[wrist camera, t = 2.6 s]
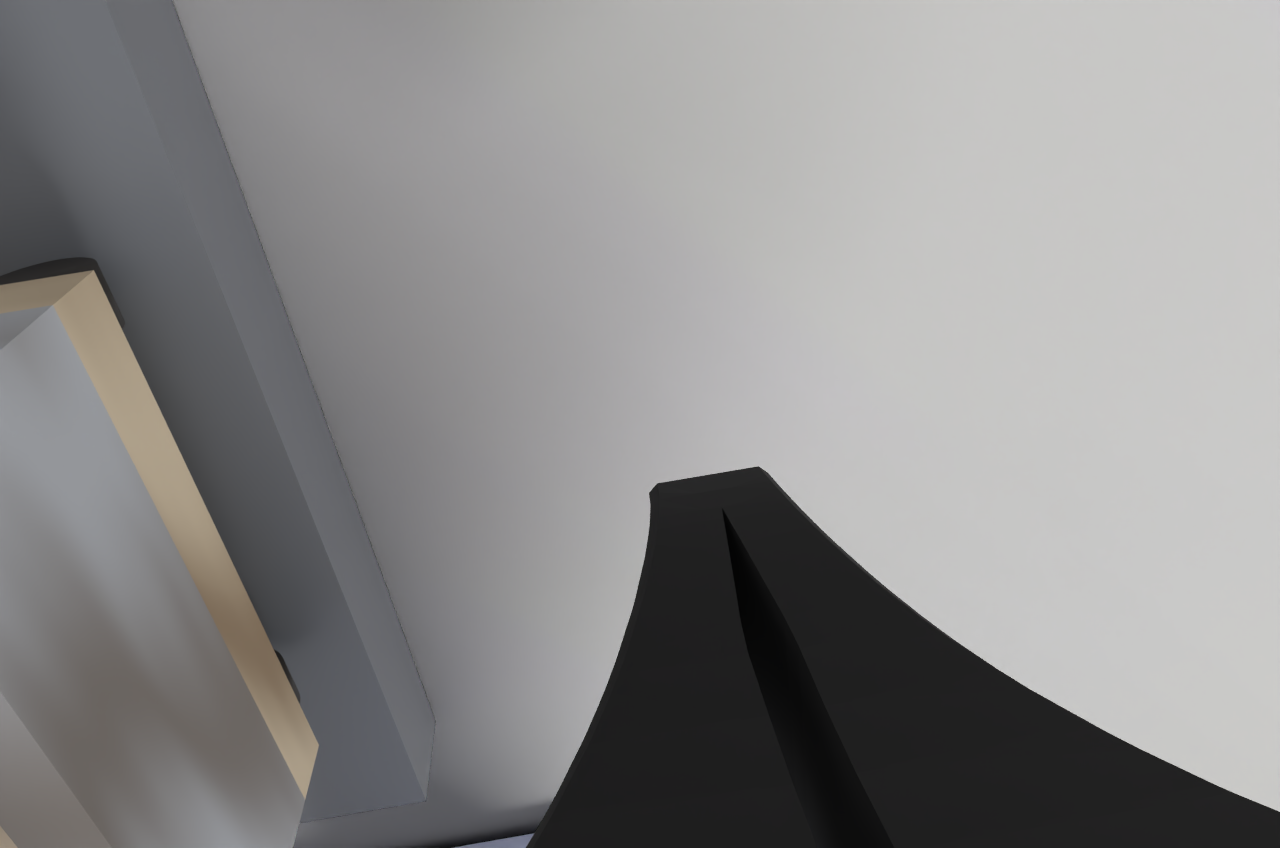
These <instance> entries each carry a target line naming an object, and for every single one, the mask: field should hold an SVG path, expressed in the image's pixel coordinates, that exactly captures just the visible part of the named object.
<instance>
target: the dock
mask: <svg viewBox="0 0 1280 848" xmlns="http://www.w3.org/2000/svg"><path fill="white" fill-rule="evenodd" d="M75 257H86V258H92V259H95V260H96V261H97V263H98V265H99V267H100V269H101V271H102V274H103V276H104V278H105V280H106V282H107V284H108V286H109V288H110V291H111V293H112V295H113V297H114V299H115V301H116V303H117V305H118V308H119V310H120V312H121V314H122V316H123V318H124V320H125V325H124V327H123V329H122V331H123V333H124V335H125V337H126V339H127V341H128V343H129V345H130V347H131V350H132V352H133V354H134V356H135V358H136V360H137V362H138V364H139V366H140V369H141V371H142V373H143V375H144V377H145V379H146V381H147V383H148V385H149V388H150V390H151V392H152V394H153V396H154V398H155V400H156V402H157V404H158V407H159V409H160V411H161V413H162V415H163V417H164V419H165V421H166V423H167V426H168V428H169V430H170V432H171V434H172V436H173V438H174V440H175V442H176V445H177V447H178V449H179V451H180V453H181V455H182V457H183V459H184V461H185V463H186V466H187V468H188V470H189V472H190V474H191V476H192V478H193V480H194V482H195V485H196V487H197V489H198V491H199V493H200V495H201V497H202V499H203V501H204V504H205V506H206V508H207V510H208V512H209V514H210V516H211V518H212V520H213V523H214V525H215V527H216V529H217V531H218V533H219V535H220V537H221V539H222V542H223V544H224V546H225V548H226V550H227V552H228V554H229V556H230V558H231V561H232V563H233V565H234V567H235V569H236V571H237V573H238V575H239V577H240V580H241V582H242V584H243V586H244V588H245V590H246V592H247V594H248V596H249V599H250V601H251V603H252V605H253V607H254V609H255V611H256V613H257V615H258V618H259V620H260V622H261V624H262V626H263V628H264V630H265V632H266V634H267V637H268V639H269V641H270V643H271V645H272V647H273V649H275V650H276V651H278V652H279V653H280V654H281V655H282V657H283V659H284V661H285V663H286V665H287V667H288V670H289V672H290V674H291V676H292V678H293V680H294V682H295V684H296V687H297V689H298V691H299V693H300V706H301V708H302V710H303V712H304V715H305V717H306V719H307V721H308V723H309V725H310V727H311V729H312V731H313V734H314V736H315V738H316V740H317V742H318V744H319V747H318V751H317V755H316V759H315V763H314V767H313V771H312V775H311V779H310V783H309V787H308V791H307V795H306V799H305V803H304V807H303V810H302V814H301V818H300V822H299V823H304V822H310V821H316V820H321V819H327V818H333V817H339V816H344V815H350V814H356V813H361V812H367V811H373V810H379V809H384V808H390V807H396V806H402V805H407V804H413V803H419V802H424V801H426V799H427V791H428V782H429V774H430V765H431V757H432V748H433V740H434V731H435V723H436V721H435V718H434V716H433V713H432V710H431V707H430V705H429V702H428V699H427V696H426V694H425V691H424V688H423V685H422V683H421V680H420V677H419V675H418V672H417V669H416V666H415V664H414V661H413V658H412V655H411V653H410V650H409V647H408V644H407V642H406V639H405V636H404V634H403V631H402V628H401V625H400V623H399V620H398V617H397V614H396V612H395V609H394V606H393V603H392V601H391V598H390V595H389V592H388V590H387V587H386V584H385V582H384V579H383V576H382V573H381V571H380V568H379V565H378V562H377V560H376V557H375V554H374V551H373V549H372V546H371V543H370V541H369V538H368V535H367V532H366V530H365V527H364V524H363V521H362V519H361V516H360V513H359V510H358V508H357V505H356V502H355V500H354V497H353V494H352V491H351V489H350V486H349V483H348V480H347V478H346V475H345V472H344V469H343V467H342V464H341V461H340V459H339V456H338V453H337V450H336V448H335V445H334V442H333V439H332V437H331V434H330V431H329V428H328V426H327V423H326V420H325V418H324V415H323V412H322V409H321V407H320V404H319V401H318V398H317V396H316V393H315V390H314V387H313V385H312V382H311V379H310V377H309V374H308V371H307V368H306V366H305V363H304V360H303V357H302V355H301V352H300V349H299V346H298V344H297V341H296V338H295V336H294V333H293V330H292V327H291V325H290V322H289V319H288V316H287V314H286V311H285V308H284V305H283V303H282V300H281V297H280V295H279V292H278V289H277V286H276V284H275V281H274V278H273V275H272V273H271V270H270V267H269V264H268V262H267V259H266V256H265V254H264V251H263V248H262V245H261V243H260V240H259V237H258V234H257V232H256V229H255V226H254V223H253V221H252V218H251V215H250V213H249V210H248V207H247V204H246V202H245V199H244V196H243V193H242V191H241V188H240V185H239V182H238V180H237V177H236V174H235V172H234V169H233V166H232V163H231V161H230V158H229V155H228V152H227V150H226V147H225V144H224V141H223V139H222V136H221V133H220V131H219V128H218V125H217V122H216V120H215V117H214V114H213V111H212V109H211V106H210V103H209V100H208V98H207V95H206V92H205V90H204V87H203V84H202V81H201V79H200V76H199V73H198V70H197V68H196V65H195V62H194V59H193V57H192V54H191V51H190V49H189V46H188V43H187V40H186V38H185V35H184V32H183V29H182V27H181V24H180V21H179V18H178V16H177V13H176V10H175V8H174V5H173V2H172V0H0V276H2V275H4V274H7V273H10V272H13V271H16V270H19V269H22V268H25V267H28V266H32V265H36V264H40V263H44V262H48V261H53V260H59V259H65V258H75Z"/></svg>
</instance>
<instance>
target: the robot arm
mask: <svg viewBox="0 0 1280 848" xmlns="http://www.w3.org/2000/svg"><path fill="white" fill-rule="evenodd" d="M649 496H650V504H651V510H650V527H649V536H648V542H647V548H646V554H645V560H644V564H643V568H642V573H641V577H640V581H639V585H638V590H637V594H636V598H635V602H634V606H633V609H632V613H631V616H630V619H629V622H628V625H627V628H626V631H625V635H624V638H623V641H622V644H621V647H620V650H619V653H618V656H617V659H616V662H615V665H614V668H613V670H612V673H611V676H610V678H609V681H608V684H607V686H606V689H605V691H604V694H603V696H602V699H601V701H600V704H599V706H598V708H597V710H596V713H595V715H594V717H593V720H592V722H591V724H590V727H589V729H588V731H587V733H586V736H585V738H584V740H583V742H582V744H581V746H580V748H579V750H578V752H577V754H576V756H575V758H574V760H573V762H572V764H571V766H570V768H569V770H568V772H567V774H566V776H565V778H564V780H563V782H562V784H561V786H560V788H559V790H558V792H557V794H556V796H555V798H554V800H553V801H552V803H551V805H550V807H549V809H548V811H547V812H546V814H545V816H544V818H543V820H542V821H541V823H540V825H539V827H538V828H537V830H536V832H535V833H533V834H527V835H521V836H515V837H510V838H504V839H498V840H493V841H487V842H481V843H476V844H470V845H464V846H459V847H453V848H1280V812H1279V811H1276V810H1274V809H1271V808H1269V807H1266V806H1264V805H1261V804H1259V803H1257V802H1254V801H1252V800H1249V799H1247V798H1244V797H1242V796H1239V795H1237V794H1235V793H1232V792H1230V791H1228V790H1226V789H1223V788H1221V787H1219V786H1217V785H1214V784H1212V783H1210V782H1208V781H1206V780H1204V779H1202V778H1199V777H1197V776H1195V775H1193V774H1191V773H1189V772H1187V771H1185V770H1183V769H1181V768H1178V767H1176V766H1174V765H1172V764H1170V763H1168V762H1166V761H1164V760H1162V759H1159V758H1157V757H1155V756H1153V755H1151V754H1149V753H1147V752H1145V751H1143V750H1141V749H1139V748H1137V747H1135V746H1133V745H1131V744H1129V743H1127V742H1125V741H1123V740H1121V739H1119V738H1117V737H1115V736H1113V735H1111V734H1109V733H1107V732H1106V731H1104V730H1102V729H1100V728H1098V727H1097V726H1095V725H1093V724H1091V723H1089V722H1088V721H1086V720H1084V719H1082V718H1080V717H1079V716H1077V715H1075V714H1073V713H1071V712H1070V711H1068V710H1066V709H1064V708H1062V707H1061V706H1059V705H1057V704H1055V703H1053V702H1052V701H1050V700H1048V699H1046V698H1044V697H1043V696H1041V695H1039V694H1037V693H1035V692H1034V691H1032V690H1030V689H1028V688H1027V687H1025V686H1023V685H1022V684H1020V683H1019V682H1017V681H1015V680H1014V679H1012V678H1011V677H1009V676H1007V675H1006V674H1004V673H1003V672H1001V671H999V670H998V669H996V668H995V667H993V666H992V665H990V664H989V663H987V662H986V661H984V660H983V659H981V658H980V657H978V656H977V655H975V654H974V653H972V652H971V651H969V650H968V649H966V648H965V647H963V646H962V645H961V644H959V643H958V642H956V641H955V640H954V639H952V638H951V637H949V636H948V635H947V634H945V633H944V632H942V631H941V630H940V629H938V628H937V627H936V626H934V625H933V624H932V623H930V622H929V621H928V620H926V619H925V618H924V617H922V616H921V615H920V614H918V613H917V612H916V611H915V610H913V609H912V608H911V607H910V606H908V605H907V604H906V603H905V602H903V601H902V600H901V599H900V598H898V597H897V596H896V595H895V594H893V593H892V592H891V591H890V590H888V589H887V588H886V587H885V586H884V585H882V584H881V583H880V582H879V581H878V580H876V579H875V578H874V577H873V576H872V575H871V574H869V573H868V572H867V571H866V570H865V569H864V568H863V567H862V566H860V565H859V564H858V563H857V562H856V561H855V560H854V559H853V558H852V557H850V556H849V555H848V554H847V553H846V552H845V551H844V550H843V549H842V548H841V547H839V546H838V545H837V544H836V543H835V542H834V541H833V540H832V539H831V538H830V537H829V536H828V535H827V534H826V533H824V532H823V531H822V530H821V529H820V528H819V527H818V526H817V525H816V524H815V523H814V522H813V521H812V520H811V519H810V518H809V517H808V516H807V515H806V514H805V513H804V512H803V511H802V510H801V509H800V508H799V507H798V505H797V504H796V503H795V502H794V501H793V500H792V499H791V498H790V497H789V496H788V495H787V494H786V493H785V492H784V491H783V489H782V488H781V487H780V486H779V485H778V484H777V483H776V482H775V481H774V479H773V478H772V477H771V476H770V475H769V474H768V473H767V472H766V471H764V470H763V469H762V468H760V467H753V468H747V469H741V470H735V471H729V472H723V473H717V474H711V475H705V476H699V477H693V478H687V479H681V480H675V481H669V482H663V483H658V484H657V485H656V486H655V487H654V488H653V489H652V490H651V492H650V493H649Z"/></svg>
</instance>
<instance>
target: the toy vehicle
mask: <svg viewBox="0 0 1280 848" xmlns="http://www.w3.org/2000/svg"><path fill="white" fill-rule="evenodd" d="M124 325H125V320H124V318H123V316H122V314H121V312H120V310H119V308H118V305H117V303H116V301H115V299H114V297H113V295H112V293H111V291H110V288H109V286H108V284H107V282H106V280H105V278H104V276H103V274H102V271H101V269H100V267H99V265H98V263H97V261H96V260H95V259H92V258H86V257H75V258H65V259H59V260H53V261H48V262H44V263H40V264H36V265H32V266H28V267H25V268H22V269H19V270H16V271H13V272H10V273H7V274H4V275H2V276H0V848H293V846H294V842H295V838H296V834H297V830H298V826H299V822H300V818H301V814H302V810H303V807H304V803H305V799H306V795H307V791H308V787H309V783H310V779H311V775H312V771H313V767H314V763H315V759H316V755H317V751H318V747H319V744H318V742H317V740H316V738H315V736H314V734H313V731H312V729H311V727H310V725H309V723H308V721H307V719H306V717H305V715H304V712H303V710H302V708H301V706H300V693H299V691H298V689H297V687H296V684H295V682H294V680H293V678H292V676H291V674H290V672H289V670H288V667H287V665H286V663H285V661H284V659H283V657H282V655H281V654H280V653H279V652H278V651H276V650H275V649H273V647H272V645H271V643H270V641H269V639H268V637H267V634H266V632H265V630H264V628H263V626H262V624H261V622H260V620H259V618H258V615H257V613H256V611H255V609H254V607H253V605H252V603H251V601H250V599H249V596H248V594H247V592H246V590H245V588H244V586H243V584H242V582H241V580H240V577H239V575H238V573H237V571H236V569H235V567H234V565H233V563H232V561H231V558H230V556H229V554H228V552H227V550H226V548H225V546H224V544H223V542H222V539H221V537H220V535H219V533H218V531H217V529H216V527H215V525H214V523H213V520H212V518H211V516H210V514H209V512H208V510H207V508H206V506H205V504H204V501H203V499H202V497H201V495H200V493H199V491H198V489H197V487H196V485H195V482H194V480H193V478H192V476H191V474H190V472H189V470H188V468H187V466H186V463H185V461H184V459H183V457H182V455H181V453H180V451H179V449H178V447H177V445H176V442H175V440H174V438H173V436H172V434H171V432H170V430H169V428H168V426H167V423H166V421H165V419H164V417H163V415H162V413H161V411H160V409H159V407H158V404H157V402H156V400H155V398H154V396H153V394H152V392H151V390H150V388H149V385H148V383H147V381H146V379H145V377H144V375H143V373H142V371H141V369H140V366H139V364H138V362H137V360H136V358H135V356H134V354H133V352H132V350H131V347H130V345H129V343H128V341H127V339H126V337H125V335H124V333H123V331H122V329H123V327H124Z"/></svg>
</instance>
